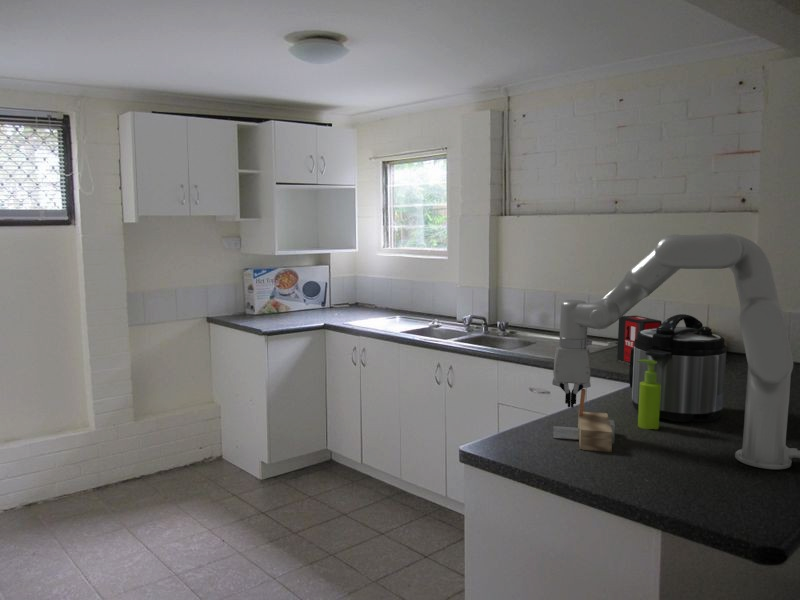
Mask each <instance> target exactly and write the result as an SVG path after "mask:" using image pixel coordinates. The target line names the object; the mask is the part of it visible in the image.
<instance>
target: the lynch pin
mask: <svg viewBox="0 0 800 600" xmlns="http://www.w3.org/2000/svg"><path fill="white" fill-rule="evenodd" d="M609 422H610V425H611V429H612V445H614V444H615V431H616V424H615V420H614V419H609ZM579 433H580V428H578V427H574V426H573V427H571V426H557V425H553V437H552V438H554V439H563V440H564V439H566V440H578V441H579Z"/></svg>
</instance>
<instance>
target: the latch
mask: <svg viewBox="0 0 800 600" xmlns="http://www.w3.org/2000/svg"><path fill="white" fill-rule="evenodd" d="M585 398H586V388H582V389H581V390H580V399H579V400H580V401H579V408H578V414H579V415H583V412H584V407H585V402H586V401H585V400H586V399H585Z"/></svg>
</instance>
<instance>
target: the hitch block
mask: <svg viewBox="0 0 800 600" xmlns="http://www.w3.org/2000/svg"><path fill="white" fill-rule="evenodd" d="M577 416H578V417H577V420H578V421H577V428H580V433H579V440H578V441H579V449H582V451H583V450H585V451H593V450H594V451H595V452H596V451H597V452H606V453H607V452H608V453H612V449H613V448H612V446H613V444H612V429H611V425H610V422H609V420H610V419H609V416H608V413H606V412H595V411H593V412H592V411H583V415H579V413H578V415H577Z"/></svg>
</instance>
